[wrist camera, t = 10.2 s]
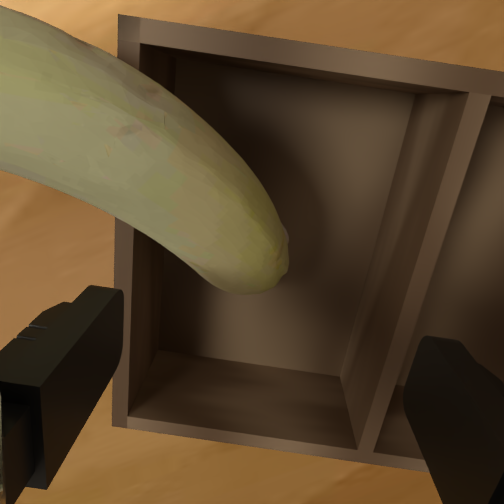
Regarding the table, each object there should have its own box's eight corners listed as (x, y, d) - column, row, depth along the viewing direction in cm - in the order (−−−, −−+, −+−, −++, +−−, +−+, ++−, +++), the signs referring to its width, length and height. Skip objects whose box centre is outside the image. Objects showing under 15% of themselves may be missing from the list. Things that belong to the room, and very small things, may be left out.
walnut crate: (678, 116, 15) (856, 124, 11) (533, 407, 20) (610, 499, 16) (165, 40, 15) (117, 14, 11) (148, 351, 20) (111, 426, 16)
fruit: (380, 280, 11) (383, 178, 12) (-586, -142, 4) (-350, -249, 6) (246, 321, 16) (258, 249, 18) (-254, 162, 10) (-174, 72, 12)
